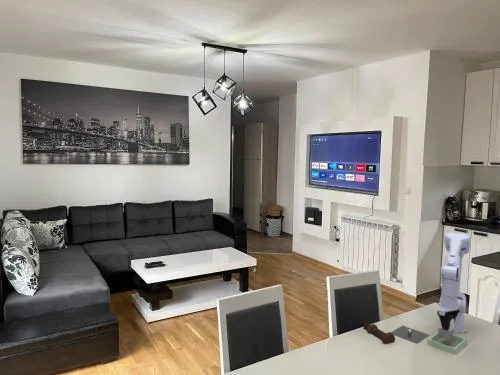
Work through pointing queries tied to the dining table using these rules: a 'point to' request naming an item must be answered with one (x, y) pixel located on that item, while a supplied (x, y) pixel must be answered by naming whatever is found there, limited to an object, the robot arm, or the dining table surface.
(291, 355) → the dining table surface
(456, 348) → the parts tray
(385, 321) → the dining table surface
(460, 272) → the robot arm
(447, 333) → the grey metal block
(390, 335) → the bolt
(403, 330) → the stud plate
